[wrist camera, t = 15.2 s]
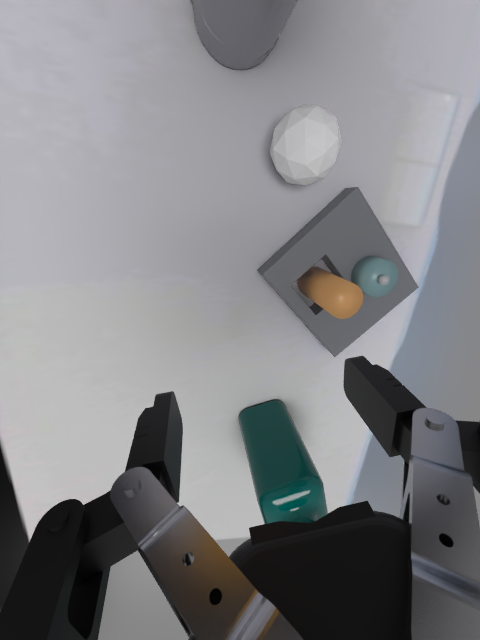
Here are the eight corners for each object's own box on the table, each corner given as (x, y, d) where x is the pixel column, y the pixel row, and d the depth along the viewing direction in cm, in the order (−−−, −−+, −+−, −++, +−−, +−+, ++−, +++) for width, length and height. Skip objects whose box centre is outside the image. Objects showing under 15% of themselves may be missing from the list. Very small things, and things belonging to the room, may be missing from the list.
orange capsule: (291, 280, 42) (320, 301, 32) (314, 260, 41) (350, 274, 32) (308, 301, 43) (340, 325, 34) (330, 281, 43) (369, 301, 33)
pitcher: (235, 409, 48) (268, 553, 28) (282, 395, 49) (348, 526, 29) (247, 450, 52) (284, 603, 32) (291, 437, 53) (354, 578, 33)
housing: (257, 270, 40) (270, 282, 34) (345, 188, 38) (377, 184, 32) (326, 348, 47) (348, 370, 40) (404, 282, 45) (440, 294, 38)
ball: (300, 146, 38) (360, 132, 33) (281, 201, 37) (340, 195, 32) (269, 99, 32) (336, 71, 27) (247, 162, 32) (311, 147, 26)
